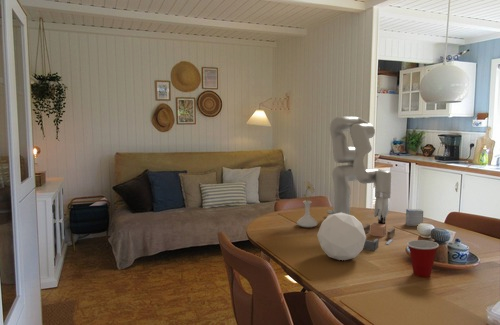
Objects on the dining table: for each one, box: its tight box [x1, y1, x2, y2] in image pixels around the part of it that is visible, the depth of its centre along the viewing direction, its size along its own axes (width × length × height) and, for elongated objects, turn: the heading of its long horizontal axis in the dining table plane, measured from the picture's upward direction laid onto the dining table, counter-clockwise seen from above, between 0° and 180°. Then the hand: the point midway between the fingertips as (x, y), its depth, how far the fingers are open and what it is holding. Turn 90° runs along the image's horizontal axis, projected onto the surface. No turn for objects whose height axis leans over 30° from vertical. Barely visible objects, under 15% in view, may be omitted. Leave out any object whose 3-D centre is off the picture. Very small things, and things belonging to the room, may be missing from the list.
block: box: [369, 222, 387, 238], centre depth 188 cm, size 6×6×5 cm
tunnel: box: [363, 223, 396, 240], centre depth 188 cm, size 14×8×4 cm, turn 55°
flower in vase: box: [296, 180, 318, 228], centre depth 204 cm, size 13×11×25 cm
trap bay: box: [363, 238, 380, 252], centre depth 170 cm, size 12×6×4 cm, turn 55°
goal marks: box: [385, 238, 394, 246], centre depth 181 cm, size 17×8×1 cm, turn 55°
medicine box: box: [405, 208, 424, 227], centre depth 205 cm, size 8×4×9 cm, turn 84°
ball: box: [316, 212, 367, 262], centre depth 155 cm, size 19×20×20 cm
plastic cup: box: [406, 239, 440, 278], centre depth 139 cm, size 11×11×12 cm
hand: (381, 229), depth 193 cm, fingers closed
